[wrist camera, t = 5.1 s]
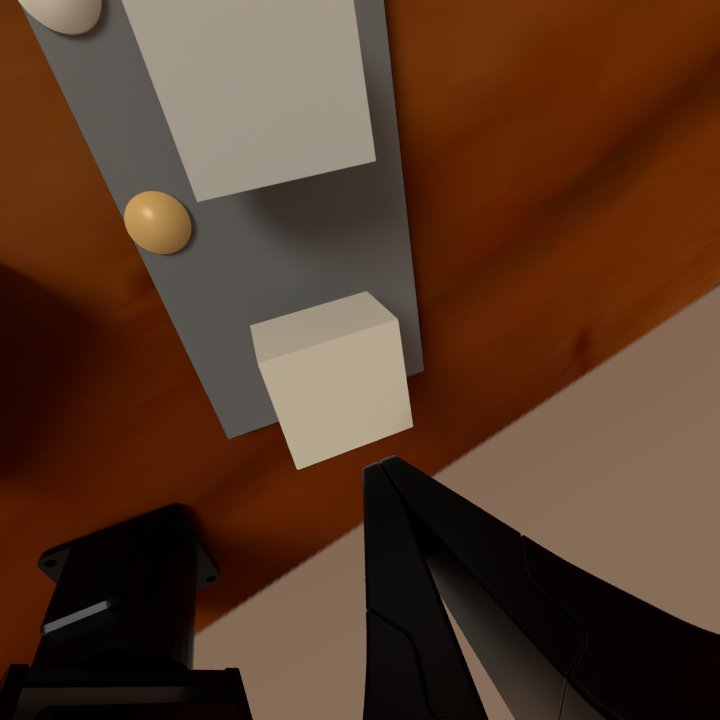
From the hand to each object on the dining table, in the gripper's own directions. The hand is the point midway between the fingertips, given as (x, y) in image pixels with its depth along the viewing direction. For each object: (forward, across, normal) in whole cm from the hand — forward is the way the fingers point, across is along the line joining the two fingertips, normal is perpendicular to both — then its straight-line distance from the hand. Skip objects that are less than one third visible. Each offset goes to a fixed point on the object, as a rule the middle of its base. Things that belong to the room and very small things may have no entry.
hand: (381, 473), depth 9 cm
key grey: (+7, 0, -8) cm, 11 cm away
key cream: (+7, 0, 0) cm, 7 cm away
